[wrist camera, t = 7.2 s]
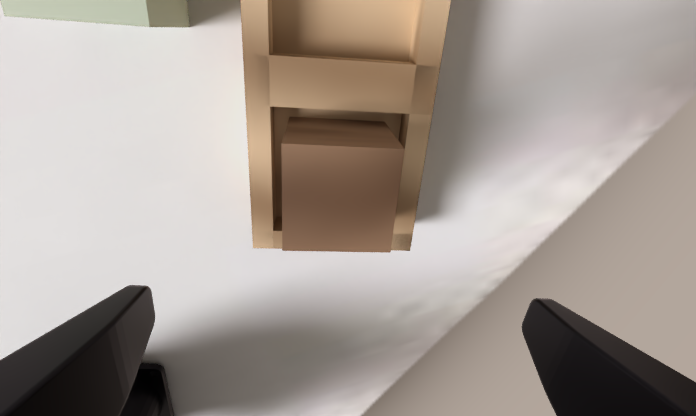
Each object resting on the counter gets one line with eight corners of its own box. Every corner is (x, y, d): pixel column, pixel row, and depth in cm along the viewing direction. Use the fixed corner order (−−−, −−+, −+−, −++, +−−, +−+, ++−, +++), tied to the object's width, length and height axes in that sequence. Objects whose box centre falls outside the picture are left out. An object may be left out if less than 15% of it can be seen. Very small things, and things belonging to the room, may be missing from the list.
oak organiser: (399, 225, 22) (409, 250, 19) (260, 222, 21) (253, 247, 18) (450, -127, 15) (476, -158, 12) (245, -151, 14) (230, -189, 12)
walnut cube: (375, 206, 20) (390, 252, 16) (289, 203, 19) (282, 250, 15) (384, 121, 18) (404, 149, 14) (289, 116, 17) (281, 143, 13)
